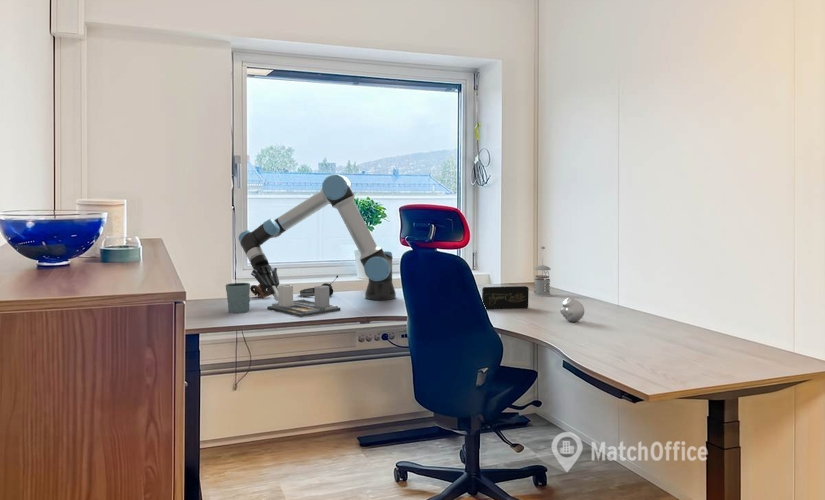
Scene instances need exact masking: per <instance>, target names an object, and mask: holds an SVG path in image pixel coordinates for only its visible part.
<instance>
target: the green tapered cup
mask: <svg viewBox="0 0 825 500" xmlns="http://www.w3.org/2000/svg"><path fill="white" fill-rule="evenodd" d="M250 288H251V284H250V282H233V283H232V282H231V283H227V284H225V290H226V297H227V298H226V300H227V309H228V313H229V314H246V313H249V312H250V299H251V298H250V292H251V290H250Z"/></svg>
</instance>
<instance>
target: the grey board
mask: <svg viewBox="0 0 825 500" xmlns="http://www.w3.org/2000/svg"><path fill="white" fill-rule="evenodd" d="M266 309H267V310H268V311H273V312H278V313H281V314H286V315H290V316H294V317H297V318H303V317H309V316H315V315H323V314H327V313H334V312H339V311H341V307H338V305H333V304H329V307H325V308H322V307H317V306H315V301H313V300H312V301H311V300H309V299H306V298H305V299H304V298H303V299H302V298H301V299H296V300H295V299H293V306H289V307H285V306H280V305H278V302H275V303H272V304H271V305H270V306H267V307H266Z"/></svg>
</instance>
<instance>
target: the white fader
mask: <svg viewBox="0 0 825 500" xmlns="http://www.w3.org/2000/svg"><path fill="white" fill-rule="evenodd" d="M277 288H278V302H277V303H278V305H280V306H285V307H289V306H293V301H294V285H290V284H284V285H283V284H282V285H278V287H277Z"/></svg>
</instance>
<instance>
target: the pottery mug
mask: <svg viewBox="0 0 825 500" xmlns="http://www.w3.org/2000/svg"><path fill="white" fill-rule="evenodd" d="M250 292H251V293H252V294H253V295H254V296H257V297H259V298H260V299H261V300H262V299H263V298H265V297H268V296H271V295H272V294H271V293H270V291H268V290H267V288H266V289H264V288H263V287H262V286H261V284H260V283H259V284H258V285H255V284H253V285H250Z"/></svg>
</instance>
